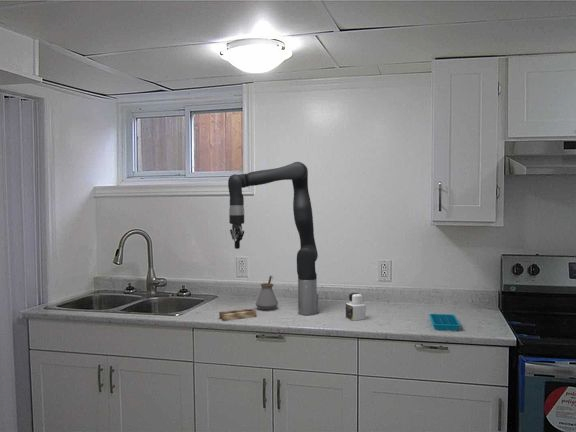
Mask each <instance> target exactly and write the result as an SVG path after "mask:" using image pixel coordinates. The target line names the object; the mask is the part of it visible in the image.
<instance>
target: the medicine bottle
mask: <svg viewBox="0 0 576 432" xmlns="http://www.w3.org/2000/svg"><path fill="white" fill-rule="evenodd" d="M348 296H349V300H348V301H349V302H346V303H345V318H346V319H348V320H350V321H354V322H357V321H364V320H365V321H366V319H367V318H366V314H367V313H366V312H367V310H366V309H367V307H366V304H365V303H363V295H362V293H359V292H353V293H350V294H349V295H348Z"/></svg>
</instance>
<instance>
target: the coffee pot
mask: <svg viewBox="0 0 576 432" xmlns="http://www.w3.org/2000/svg"><path fill="white" fill-rule="evenodd" d="M273 279H274V277H273V275H270V276H269V277H268V283H267V282H264V283H261V284H260V287H261V290H260V292H259V295H258V297H257V300H256V303H255V305H256V307H257V308H258V309H259V310H260V311H265V312H266V311H267V312H268V311H274V310H275V308H277V307H278V304H279V302H278V300H277V297H276V295H275V292H274V291H273V286H274V284H273V283H271V282H272V280H273Z"/></svg>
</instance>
